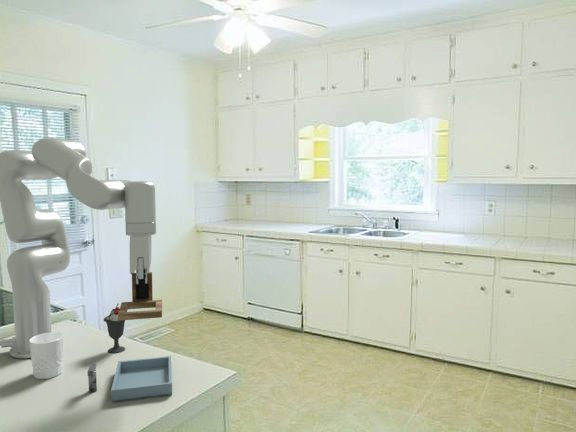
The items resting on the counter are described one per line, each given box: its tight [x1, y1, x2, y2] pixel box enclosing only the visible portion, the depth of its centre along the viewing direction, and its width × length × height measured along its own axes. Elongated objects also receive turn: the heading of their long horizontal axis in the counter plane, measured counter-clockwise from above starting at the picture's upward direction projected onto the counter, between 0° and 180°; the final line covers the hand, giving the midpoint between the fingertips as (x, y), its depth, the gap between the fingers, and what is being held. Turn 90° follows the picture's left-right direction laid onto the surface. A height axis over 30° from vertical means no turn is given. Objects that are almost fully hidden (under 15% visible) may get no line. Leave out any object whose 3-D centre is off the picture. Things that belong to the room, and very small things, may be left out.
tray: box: [110, 355, 173, 403], centre depth 111 cm, size 14×16×3 cm
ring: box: [118, 271, 163, 321], centre depth 109 cm, size 12×10×8 cm
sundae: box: [103, 303, 126, 354], centre depth 131 cm, size 7×7×15 cm
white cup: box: [29, 331, 64, 380], centre depth 116 cm, size 8×8×10 cm
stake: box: [87, 361, 98, 394], centre depth 107 cm, size 2×5×6 cm, turn 16°
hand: (142, 297), depth 115 cm, fingers closed on ring, 1 cm apart
